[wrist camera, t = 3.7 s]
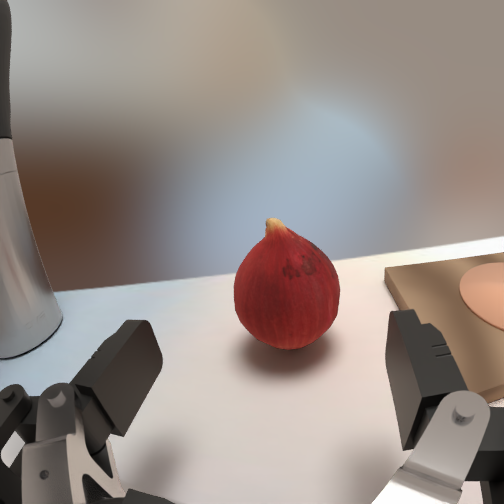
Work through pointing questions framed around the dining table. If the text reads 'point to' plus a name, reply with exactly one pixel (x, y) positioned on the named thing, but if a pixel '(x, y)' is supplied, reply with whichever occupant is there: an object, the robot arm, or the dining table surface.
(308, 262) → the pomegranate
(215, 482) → the dining table surface
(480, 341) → the serving board
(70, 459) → the robot arm
